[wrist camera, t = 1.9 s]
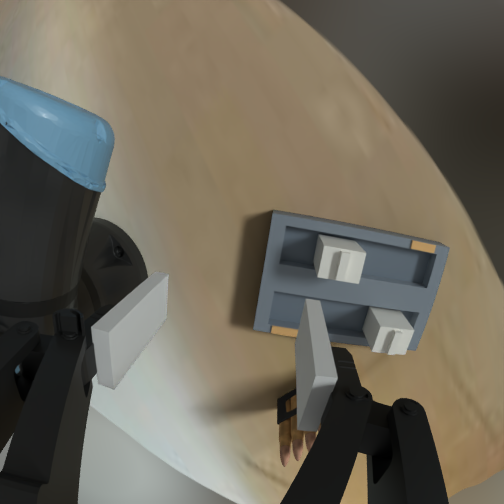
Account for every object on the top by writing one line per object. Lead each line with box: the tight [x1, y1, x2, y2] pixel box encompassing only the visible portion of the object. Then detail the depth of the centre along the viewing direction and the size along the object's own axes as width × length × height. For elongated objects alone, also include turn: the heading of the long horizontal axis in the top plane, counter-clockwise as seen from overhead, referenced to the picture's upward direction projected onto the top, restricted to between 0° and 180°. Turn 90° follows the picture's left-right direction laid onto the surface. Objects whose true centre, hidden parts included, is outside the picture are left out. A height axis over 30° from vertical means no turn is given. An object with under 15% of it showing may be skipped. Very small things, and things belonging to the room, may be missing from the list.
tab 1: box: [313, 234, 366, 284], centre depth 30 cm, size 4×3×6 cm
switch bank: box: [253, 210, 449, 351], centre depth 34 cm, size 20×13×3 cm, turn 82°
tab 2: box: [362, 306, 414, 355], centre depth 32 cm, size 4×3×6 cm
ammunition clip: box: [277, 389, 321, 467], centre depth 33 cm, size 11×2×12 cm, turn 132°
